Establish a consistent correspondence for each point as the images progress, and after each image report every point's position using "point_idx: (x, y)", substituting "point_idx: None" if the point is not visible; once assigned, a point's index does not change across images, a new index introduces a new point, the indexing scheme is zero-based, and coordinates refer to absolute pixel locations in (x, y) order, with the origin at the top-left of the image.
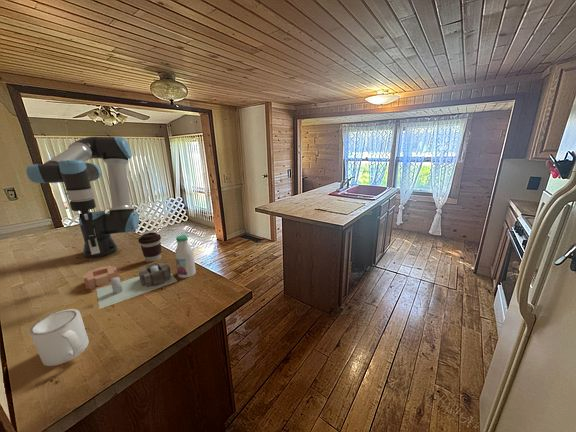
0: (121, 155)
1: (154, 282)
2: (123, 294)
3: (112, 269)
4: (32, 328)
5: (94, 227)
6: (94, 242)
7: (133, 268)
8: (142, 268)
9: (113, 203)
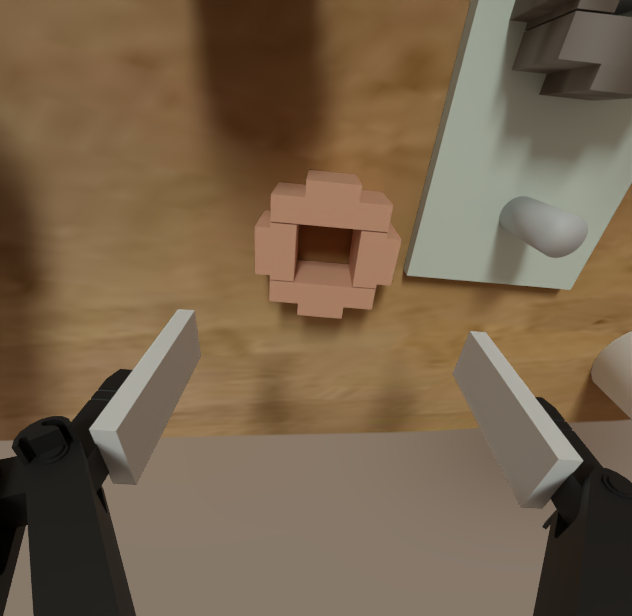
0: None
1: None
2: (567, 201)
3: (340, 204)
4: None
5: (58, 432)
6: (575, 443)
7: (274, 67)
8: (571, 43)
9: None
